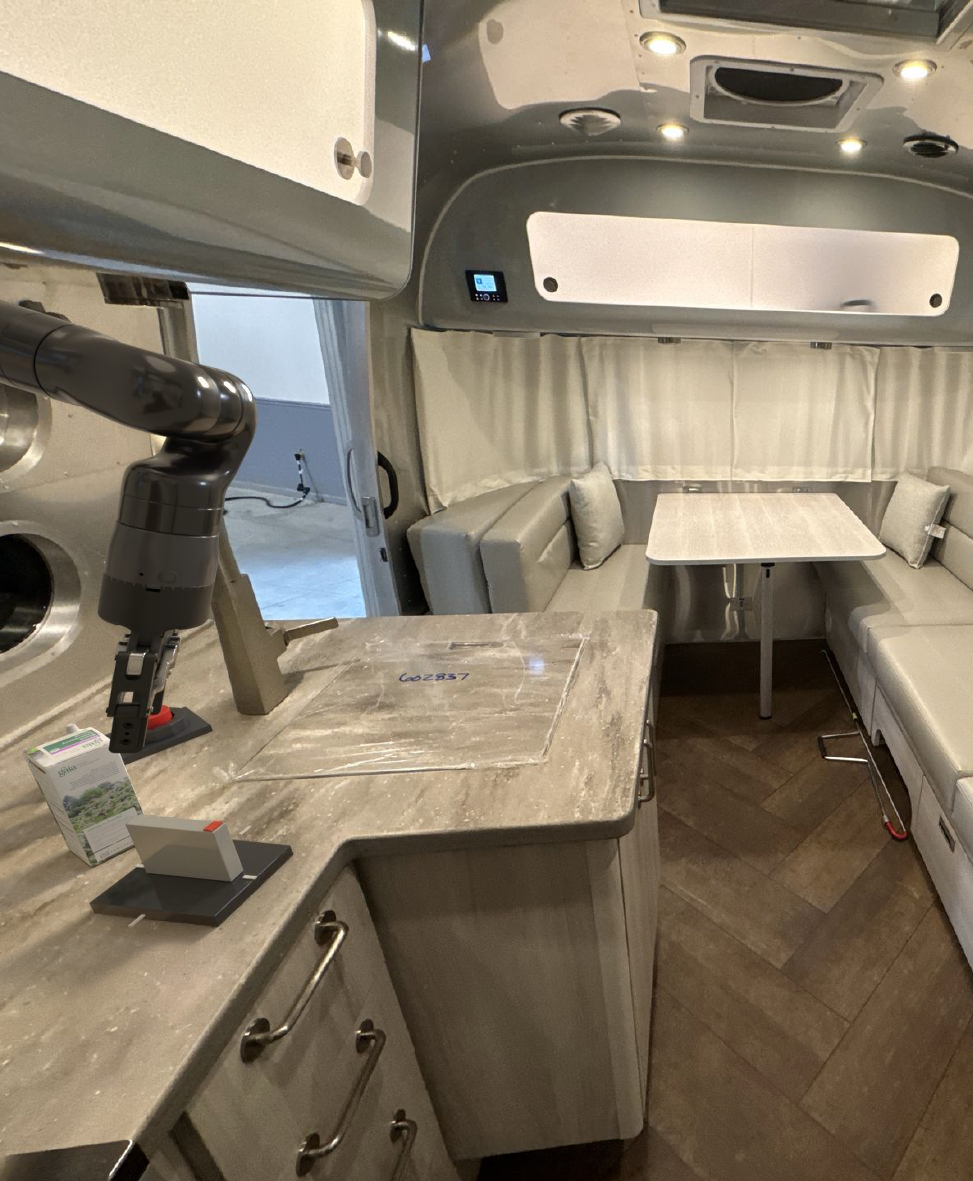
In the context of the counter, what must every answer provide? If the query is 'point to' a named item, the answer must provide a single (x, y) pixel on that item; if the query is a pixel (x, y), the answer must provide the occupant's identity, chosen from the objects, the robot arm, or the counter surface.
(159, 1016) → the counter surface
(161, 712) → the power button
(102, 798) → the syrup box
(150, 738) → the black button base
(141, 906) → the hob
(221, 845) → the gray battery pack
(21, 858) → the counter surface
